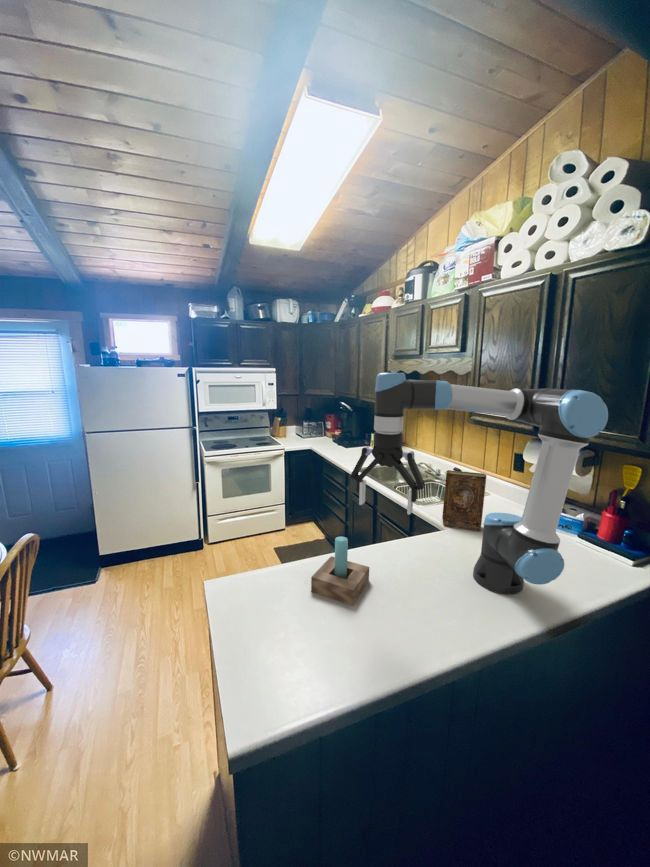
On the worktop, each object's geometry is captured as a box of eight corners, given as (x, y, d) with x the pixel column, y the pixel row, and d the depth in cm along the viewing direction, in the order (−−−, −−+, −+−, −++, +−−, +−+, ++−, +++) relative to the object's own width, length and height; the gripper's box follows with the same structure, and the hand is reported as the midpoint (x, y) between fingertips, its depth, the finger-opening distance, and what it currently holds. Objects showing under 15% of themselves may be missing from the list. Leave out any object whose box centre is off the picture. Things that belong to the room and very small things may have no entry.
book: (479, 526, 157) (485, 473, 153) (481, 531, 152) (487, 477, 148) (442, 521, 162) (446, 469, 158) (442, 526, 157) (446, 473, 152)
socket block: (368, 580, 114) (369, 567, 113) (352, 605, 101) (353, 590, 100) (330, 569, 120) (331, 556, 119) (311, 591, 107) (311, 576, 107)
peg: (348, 584, 111) (349, 538, 109) (343, 591, 108) (344, 543, 105) (337, 580, 113) (338, 535, 111) (332, 587, 110) (333, 540, 107)
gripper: (439, 433, 89) (434, 511, 92) (350, 426, 100) (349, 495, 104) (434, 438, 82) (428, 522, 86) (339, 429, 94) (338, 504, 97)
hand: (385, 507), depth 95 cm, fingers open, 13 cm apart
